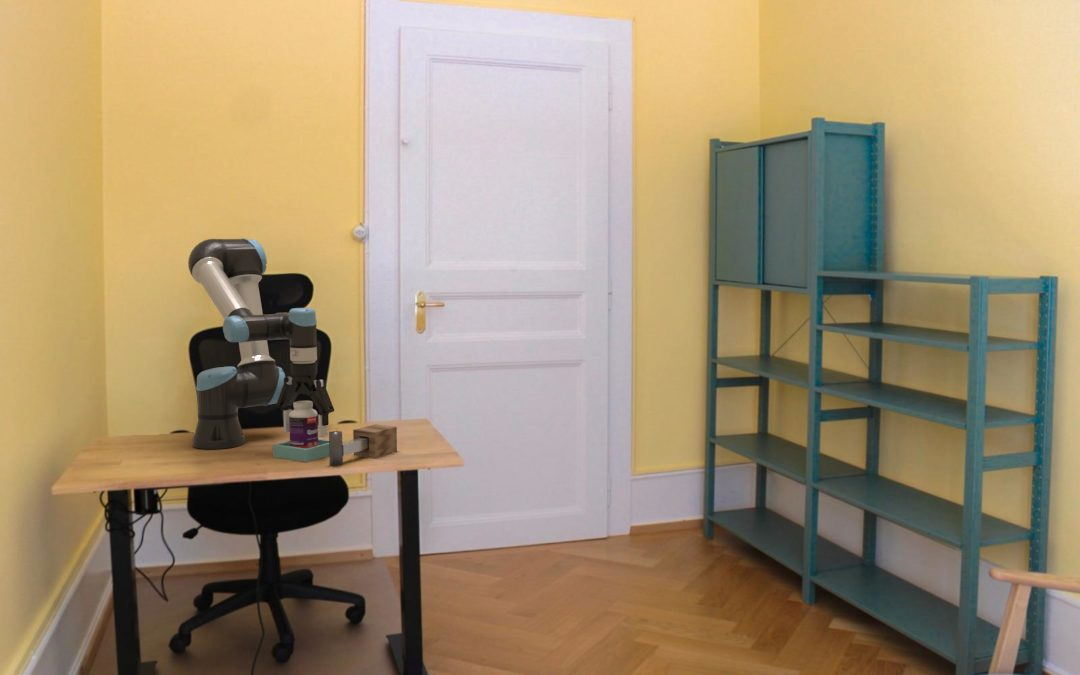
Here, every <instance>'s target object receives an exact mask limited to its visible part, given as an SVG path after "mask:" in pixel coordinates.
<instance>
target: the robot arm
mask: <svg viewBox="0 0 1080 675" xmlns="http://www.w3.org/2000/svg"><path fill="white" fill-rule="evenodd" d="M187 262H188V270H189V274H190V275H191V277H192V278H193V280H194V281H195V282H197V283H198V284H201V286H202V287H203V289H204V290H205V292H206V294H207V295H208V296H209V298H210V299H211V301H212V303H213V304H214V305H215V307H216V309H217V310H218V312H219V313H220V315H221V317H222V318H223V323H222V330H223V331H222V332H223V335H224V338H225V339H226V340H227V342H229V343H238V346H239V353H240V359H241V360H240V362H239V363H238V364H237V367H235V366H223V367H222V366H221V367H214V368H210V369H206V370H203V371H201V372H199V374H198V375H196V376H197V377H196V386H195V389H196V396H197V397H196V399H197V400H196V401H197V402H196V403H197V404H196V405H197V406H196V407H197V423H196V427H195V432H194V434H193V437H192V447H193V448H196V449H201V450H202V449H203V450H217V449H219V450H220V449H229V448H235V447H239V446H242V445H244V444H245V441H246V440H245V434H244V432H243V429H242V426H241V423H240V421H239V416H238V414H239V412H238V411H239V409H242V408H250V407H251V408H252V407H260V406H264V407H266V406H268V405H273V404H274V405H275V404H276V408H280V410H281V418H282V421H283V433H285V434H287V433H290V428H289V413H290V412H291V411H292V410H293V409H292V405H293V402H296V399H297V398H298V396H299V395H301V394H303V395H307V396H308V397H309V398H310V399H311V401H312V402H313V405H315V407H316V409H318V412H319V414H318V438H325V437H328V426H329V414H330V413H333V412H335V408H334V406H333V403H332V400H331V398H330V395H329V393H328V390H327V388H326V380H325V379H318V380H317V378H316V376H317V374H318V363H317V362H316V361H317V360H318V348H317V343H318V342H317V316H316V310H315V309H314V308H310V307H295V308H291V309H290V310H289V312H276V313H271V314H270V313H269V314H264V313H263V308H262V301H261V295H260V289H259V282H261V280H262V279H263V276H262V275H264V274H265V272H266V270H267V264H268V261H267V255H266V252H265V248H264V247H263V245H262V244H261V243H260V242H259V241H257V240H255V239H250V238H249V239H247V238H243V237H241V238H208V239H205V240H203V241H200V242H199V243H197V244H196V245H195V246H194V247H193V248H192V250H191V251H190V254H189V256H188V261H187ZM274 340H289V353H290V354H289V356H290V360H289V361H291V363H290V365H289V366H290V376H286V374H285V371H284V369H283V368H282V367H280V366H277V364H276V360H275V359H273V357H271V356H270V352H269V346H268V341H274Z"/></svg>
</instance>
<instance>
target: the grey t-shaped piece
mask: <svg viewBox="0 0 1080 675" xmlns="http://www.w3.org/2000/svg"><path fill="white" fill-rule="evenodd" d="M328 440H329V456H328V457H329V466H342V465H344V458H343V457H344V456H347V455H351V454H354V453H355V452H359V451H362V450H366V449H369V437H365V436H364V437H361V438H357V439H349V440H346V441H343V431H342V430H331V431H328Z"/></svg>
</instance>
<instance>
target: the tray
mask: <svg viewBox="0 0 1080 675" xmlns="http://www.w3.org/2000/svg"><path fill="white" fill-rule="evenodd" d="M272 453H273V454H272V456H273V458H276V459H277V458H278V459H283V460H289V461H295V460H297V462H302V461H304V463H309V462H308V461H310V462H313V461H317V460H320V459H324V458H327V457H326V456H328V457H329V439H322V438H318V446H315V447H311V448H307V449H305V448H298V447H291V446H290V440H287V441H283V442H280V443H276V444H272ZM323 457H324V458H323ZM319 458H320V459H319ZM316 459H317V460H316ZM312 460H313V461H312Z"/></svg>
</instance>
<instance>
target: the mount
mask: <svg viewBox="0 0 1080 675" xmlns="http://www.w3.org/2000/svg"><path fill="white" fill-rule="evenodd" d="M397 430H398V427H397V426H392V425H383V424H377V423H376V424H372V425H368V426H364V427H359V428H355V429H352V432H353V433H352V434H353V435H352V437H353V439H357V438H361V437H364V436H365V437H369V449H366V450H362V451H359V452H355V453H353V456H355V455H356V457H364V458H371V459H378V458H380V457H383V456H388V455H391V454H394V453H397V452H398V435H397V434H398V433H397ZM353 439H352V440H353Z"/></svg>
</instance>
